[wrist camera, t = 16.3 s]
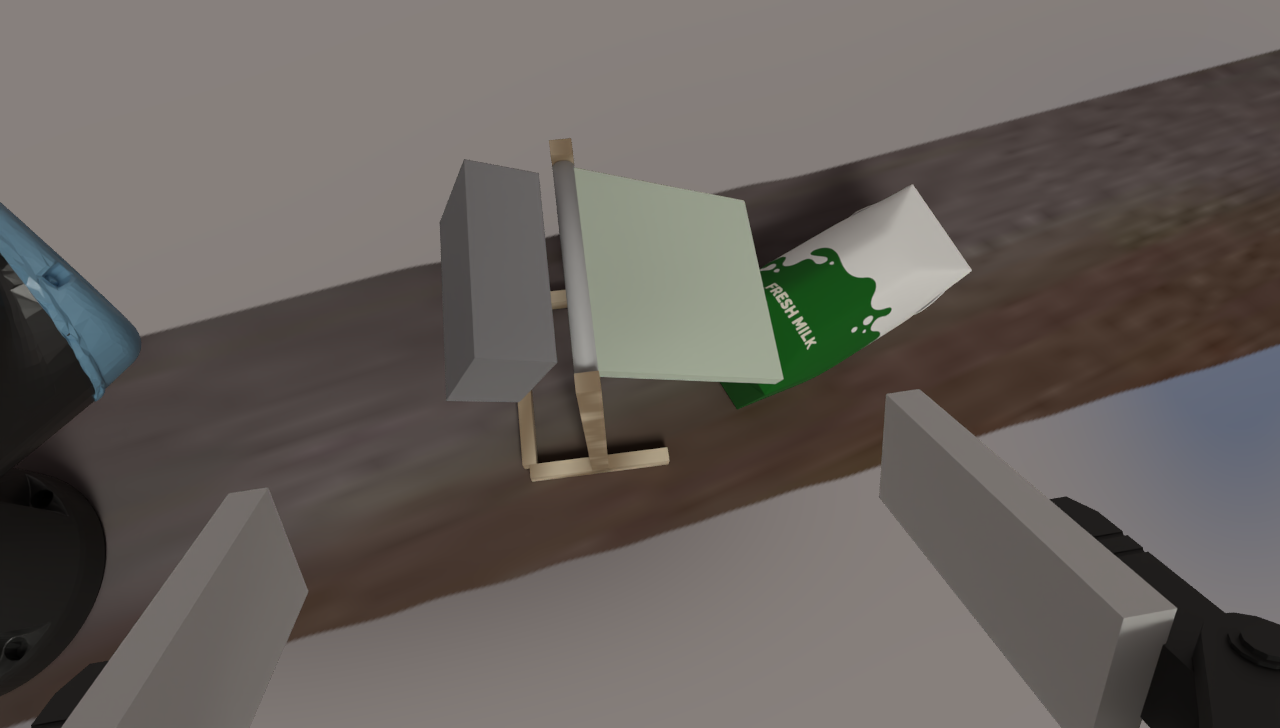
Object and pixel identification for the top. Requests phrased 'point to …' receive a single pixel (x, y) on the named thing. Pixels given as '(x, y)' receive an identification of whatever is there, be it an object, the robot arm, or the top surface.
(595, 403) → the trapdoor stand
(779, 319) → the soya milk
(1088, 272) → the top surface
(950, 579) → the robot arm
